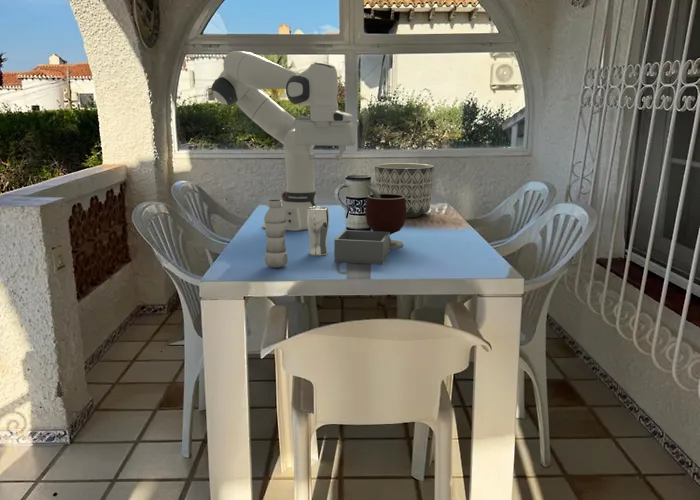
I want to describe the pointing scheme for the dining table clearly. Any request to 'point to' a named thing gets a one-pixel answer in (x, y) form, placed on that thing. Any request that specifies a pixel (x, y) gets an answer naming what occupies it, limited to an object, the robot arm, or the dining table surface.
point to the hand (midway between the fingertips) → (324, 159)
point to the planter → (407, 184)
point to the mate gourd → (386, 214)
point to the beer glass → (318, 230)
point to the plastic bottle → (275, 235)
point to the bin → (362, 247)
